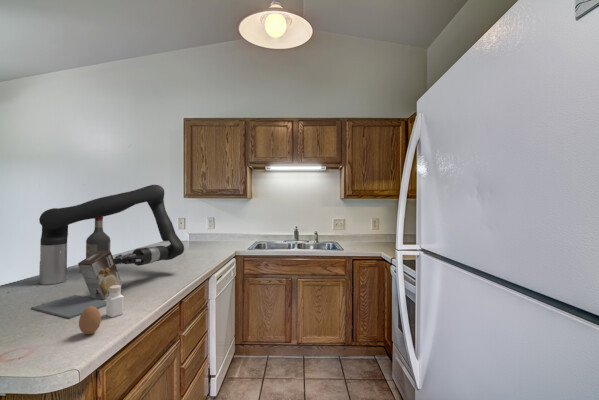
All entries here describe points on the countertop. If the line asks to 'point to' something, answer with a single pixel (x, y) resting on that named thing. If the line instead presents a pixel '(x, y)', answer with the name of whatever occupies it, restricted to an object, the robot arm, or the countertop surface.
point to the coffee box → (100, 274)
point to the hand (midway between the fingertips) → (109, 262)
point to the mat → (69, 306)
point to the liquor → (97, 239)
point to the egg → (89, 320)
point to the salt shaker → (114, 302)
